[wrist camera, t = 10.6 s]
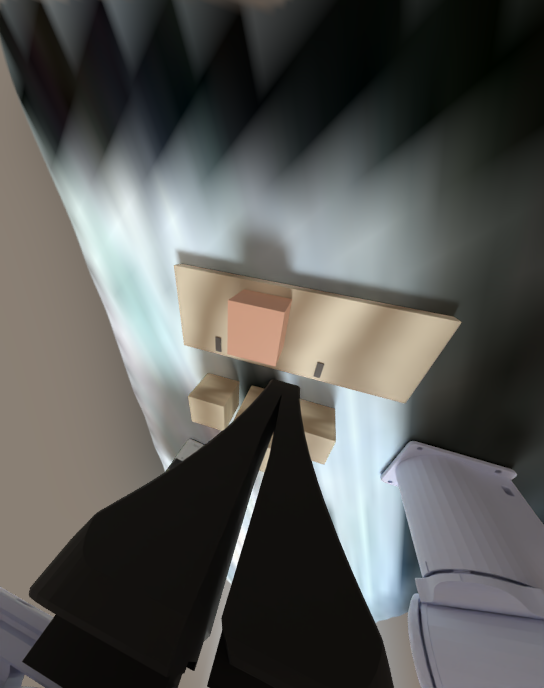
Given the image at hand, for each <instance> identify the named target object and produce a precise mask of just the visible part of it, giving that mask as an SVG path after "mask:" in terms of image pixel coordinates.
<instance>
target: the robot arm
mask: <svg viewBox="0 0 544 688" xmlns="http://www.w3.org/2000/svg"><path fill="white" fill-rule="evenodd" d="M273 432H274V433H273ZM272 435H273V439H272V444H271V449H270V455H269V459H268V462H267V466H266V469H265V472H264V476H263V479H262V483H261V486H260V490H259V493H258V497H257V500H256V503H255V507H254V510H253V514H252V517H251V521H250V524H249V527H248V531H247V534H246V538H245V541H244V544H243V548H242V551H241V554H240V558H239V561H238V564H237V568H236V571H235V575H234V578H233V581H232V585H231V588H230V592H229V595H228V598H227V601H226V605H225V608H224V611H223V615H222V633H221V637H220V641H219V644H218V648H217V652H216V655H215V659H214V663H213V666H212V670H211V673H210V677H209V681H208V685H207V687H209V688H394V686H393V681H392V677H391V672H390V668H389V664H388V659H387V656H386V651H385V647H384V644H383V640H382V637H381V635H380V633H379V631H378V628H377V626H376V624H375V621H374V619H373V617H372V615H371V613H370V610H369V608H368V606H367V604H366V602H365V599H364V597H363V595H362V593H361V590H360V588H359V586H358V583H357V581H356V579H355V577H354V574H353V572H352V570H351V567H350V565H349V562H348V560H347V558H346V555H345V553H344V550H343V548H342V546H341V543H340V541H339V538H338V536H337V533H336V530H335V528H334V525H333V522H332V520H331V517H330V515H329V512H328V509H327V507H326V504H325V501H324V499H323V496H322V493H321V490H320V487H319V484H318V481H317V477H316V474H315V471H314V468H313V464H312V461H311V457H310V453H309V449H308V445H307V441H306V437H305V432H304V426H303V421H302V415H301V407H300V388H299V386H296V385H293V384H289V383H285V382H282V381H278V380H275V379H272V380H270V382H269V383H268V385H267V386H266V388H265V389H264V390H263V391H262V392H261V394H260V395H259V396H258V397H257V398H256V399H255V400H254V401H253V402H252V404H251V405H250V406H249V407H248V408H247V409H246V410H245V411H244V412H243V413H242V414H241V415H239V416H238V417H237V418H236V419H235V420H234V421H233V422H232V423H231V424H230V425H229V426H228V427H226V428H225V429H224V430H223V431H222V432H220V433H219V434H218V435H217V436H216V437H214V438H213V439H212V440H211V441H209V442H208V443H207V444H205V445H204V446H203V447H201V448H200V449H198V450H197V451H196V452H194V453H193V454H192V455H190V456H189V457H187V458H186V459H185V460H183V461H182V462H180V463H179V464H177V465H175V466H174V467H172V468H171V469H169V470H168V471H166V472H165V473H163V474H162V475H160V476H159V477H157V478H156V479H154V480H152V481H151V482H149V483H147V484H146V485H144V486H142V487H141V488H139V489H137V490H135V491H134V492H132V493H130V494H128V495H127V496H125V497H123V498H121V499H120V500H118V501H116V502H114V503H113V504H111V505H109V506H108V507H106V508H104V509H102V510H100V511H99V512H97V513H96V514H95V515H94V516H93V517H92V518H91V519H90V520H89V521H88V522H87V524H85V526H83V528H82V529H81V530H79V532H77V534H76V535H75V536H74V537H73V538H72V539H71V540H70V541H69V542H68V544H67V545H66V546H65V547H64V548H63V549H62V551H61V552H60V553H59V554H58V555H57V557H56V558H55V559H54V560H53V561H52V563H51V564H50V565H49V566H48V567H47V568H46V570H45V571H44V572H43V573H42V574H41V575H40V577H39V578H38V579H37V580H36V581H35V583H34V584H33V585H32V586H31V587H30V591H29V596H30V597H31V598H32V599H33V600H34V601H35V602H37V603H39V604H40V605H41V606H43V607H45V608H46V609H48V610H50V611H51V612H53V613H55V614H56V615H55V616H54V617H52V616H51V615H49V614H47V613H45V612H44V611H42V610H40V609H38V608H37V607H35V606H33V605H31V604H30V603H28V602H26V601H24V600H23V599H21V598H19V597H17V596H16V595H14V594H12V593H10V592H9V591H7V590H5V589H4V588H2V587H0V688H36V687H23V686H21V684H22V680H23V678H24V675H27V676H28V677H30V678H31V679H33V680H35V681H36V682H38V683H39V684H41V685H42V686H44V687H45V688H178V685H179V682H180V679H181V676H182V674H183V673H185V670H186V667H187V668H189V669H191V670H193V671H194V670H195V667H196V664H197V661H198V658H199V654H200V651H201V648H202V645H203V642H204V641H205V640H206V639H207V638H208V637H209V636H210V634H211V630H212V627H213V623H214V619H215V616H216V613H217V609H218V605H219V601H220V598H221V595H222V591H223V588H224V584H225V581H226V577H227V574H228V570H229V567H230V564H231V560H232V557H233V553H234V550H235V546H236V543H237V539H238V536H239V532H240V529H241V526H242V522H243V519H244V515H245V512H246V509H247V505H248V502H249V498H250V495H251V492H252V489H253V486H254V483H255V480H256V477H257V474H258V472H259V469H260V467H261V464H262V461H263V459H264V456H265V453H266V451H267V448H268V446H269V443H270V440H271V438H272ZM516 476H517V474H516V473H515V471H514V470H512V469H509V468H506V467H503V466H499V465H496V464H492V463H489V462H485V461H482V460H478V459H475V458H472V457H468V456H465V455H461V454H458V453H454V452H451V451H448V450H444V449H441V448H437V447H434V446H430V445H427V444H423V443H420V442H417V441H410V442H409V443H408V444H407V445H406V446H405V447H404V449H403V450H402V451H401V452H400V453H399V455H398V456H397V457H396V458H395V459H394V461H393V462H392V463H391V464H390V465H389V467H388V468H387V469H386V470H385V472H384V473H383V474H382V475H381V481H383V482H385V483H388V484H391V485H394V486H397V487H399V490H400V494H401V498H402V501H403V505H404V509H405V513H406V516H407V520H408V524H409V528H410V532H411V535H412V539H413V543H414V547H415V550H416V554H417V558H418V562H419V565H420V569H421V573H422V577H423V578H415V581H416V585H417V589H418V594H414V595H413V596H412V599H411V602H410V607H409V611H408V630H409V639H410V645H411V651H412V655H413V660H414V664H415V669H416V672H417V676H418V680H419V683H420V686H421V688H544V525H543V524H542V522H541V521H540V520H539V518H538V517H537V515H536V514H535V513H534V511H533V510H532V508H531V507H530V506H529V504H528V503H527V502H526V500H525V499H524V497H523V496H522V495H521V493H520V492H519V491H518V489H517V488H516V486H515V485H514V484H513V482H512V481H511V480H512V479H513V478H515V477H516Z"/></svg>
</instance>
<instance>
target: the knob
mask: <svg viewBox="0 0 544 688" xmlns="http://www.w3.org/2000/svg"><path fill="white" fill-rule="evenodd" d="M291 304H292V299H289V298H284V297H279V296H275V295H270V294H265V293H260V292H255V291H250V290H245V289H244V290H242V291H241V292H239V293H238V294H236V295H235V296H233V297H232V298H230V299H229V300H228V342H227V354H229V355H233V356H237V357H240V358H244V359H248V360H252V361H256V362H259V363H263V364H267V365H271V366H275V367H276V364H277V362H278V359H279V357H280V355H281V352H282V350H283V347H284V342H285V336H286V331H287V325H288V320H289V314H290V309H291Z"/></svg>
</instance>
